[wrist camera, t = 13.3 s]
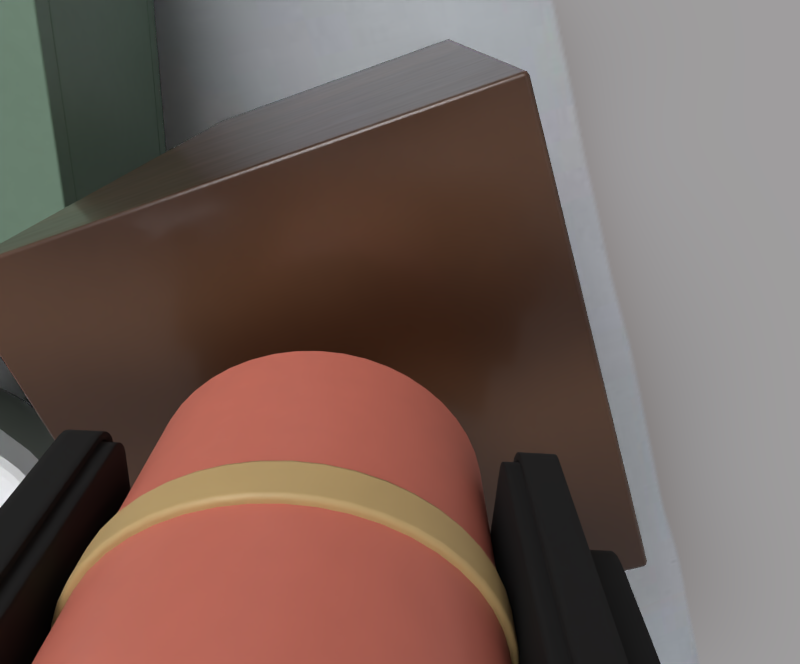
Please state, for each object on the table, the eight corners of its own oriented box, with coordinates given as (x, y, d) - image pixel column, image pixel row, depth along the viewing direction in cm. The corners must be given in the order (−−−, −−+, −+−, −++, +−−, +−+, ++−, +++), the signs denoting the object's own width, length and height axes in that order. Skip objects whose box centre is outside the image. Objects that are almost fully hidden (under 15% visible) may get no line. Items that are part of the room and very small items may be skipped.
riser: (221, 121, 29) (-56, 273, 11) (449, 38, 27) (528, 69, 10) (309, 327, 33) (202, 674, 15) (513, 264, 31) (648, 566, 14)
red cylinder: (131, 332, 9) (-237, 770, 4) (507, 352, 10) (643, 805, 4) (165, 608, 12) (-42, 1128, 6) (469, 621, 12) (526, 1148, 6)
